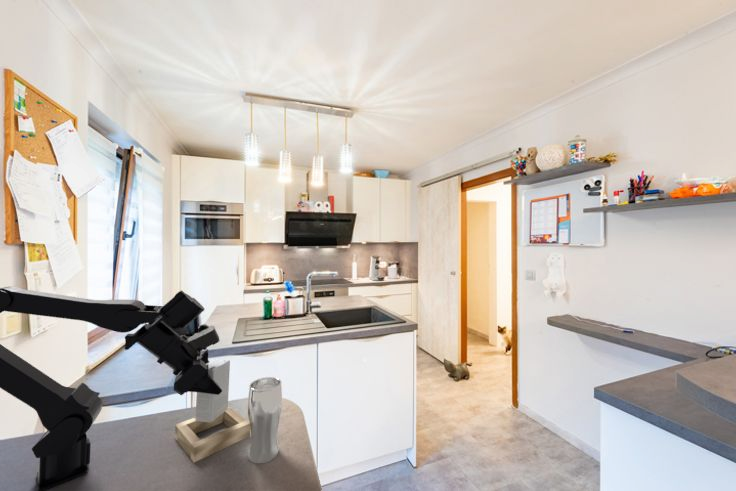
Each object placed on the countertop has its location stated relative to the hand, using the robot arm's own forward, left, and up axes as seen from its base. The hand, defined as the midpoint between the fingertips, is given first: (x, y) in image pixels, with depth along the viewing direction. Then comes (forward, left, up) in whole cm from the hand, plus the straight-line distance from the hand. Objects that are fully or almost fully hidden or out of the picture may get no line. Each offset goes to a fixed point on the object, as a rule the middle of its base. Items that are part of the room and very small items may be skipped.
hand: (219, 386), depth 70 cm
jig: (-1, 0, -11) cm, 12 cm away
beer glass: (+4, -14, -12) cm, 18 cm away
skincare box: (-1, 0, -7) cm, 7 cm away
